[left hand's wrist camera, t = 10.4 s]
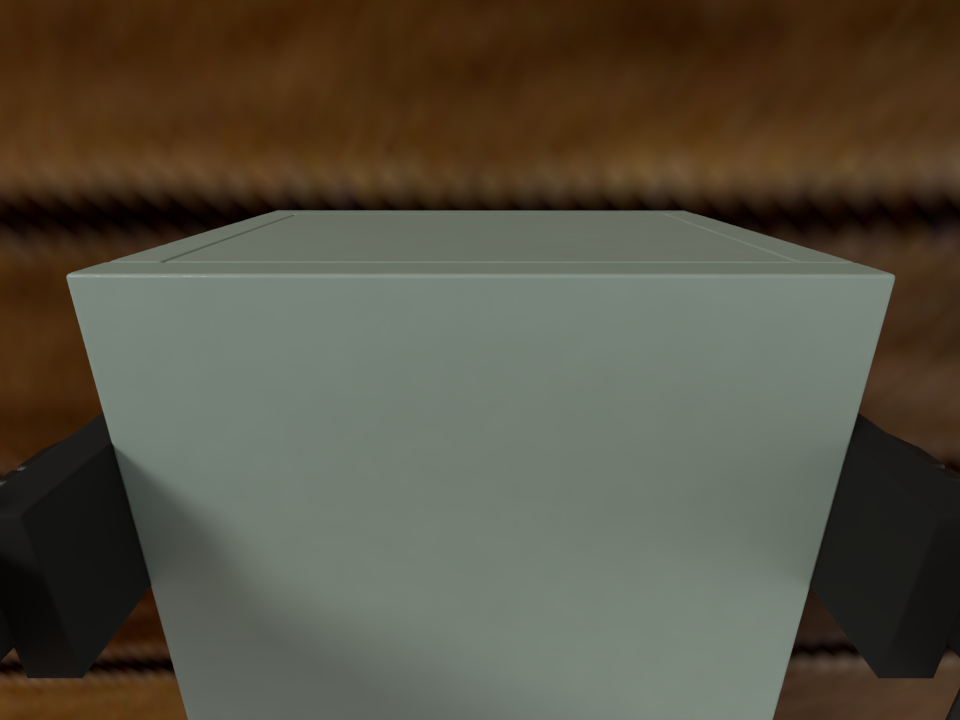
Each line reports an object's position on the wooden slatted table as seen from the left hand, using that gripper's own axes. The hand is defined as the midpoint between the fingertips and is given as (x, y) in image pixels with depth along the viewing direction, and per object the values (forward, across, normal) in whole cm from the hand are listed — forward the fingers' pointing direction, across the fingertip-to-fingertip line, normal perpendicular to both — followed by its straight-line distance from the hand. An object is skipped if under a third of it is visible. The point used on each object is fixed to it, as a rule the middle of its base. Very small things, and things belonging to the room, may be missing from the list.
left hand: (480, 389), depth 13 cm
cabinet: (+3, 0, -5) cm, 6 cm away
